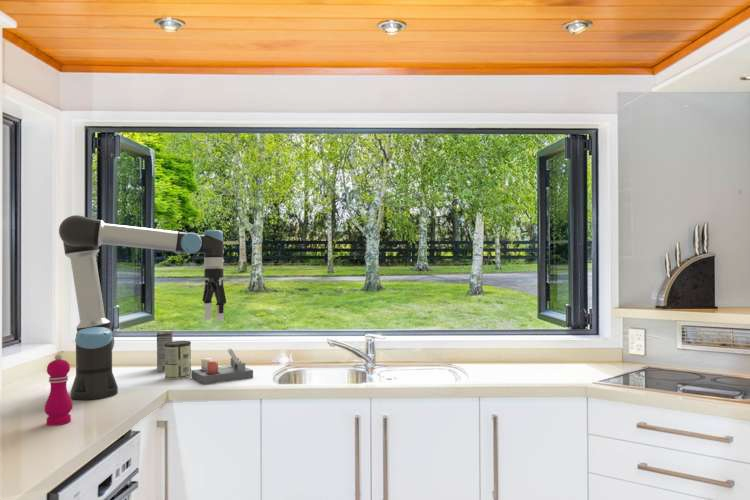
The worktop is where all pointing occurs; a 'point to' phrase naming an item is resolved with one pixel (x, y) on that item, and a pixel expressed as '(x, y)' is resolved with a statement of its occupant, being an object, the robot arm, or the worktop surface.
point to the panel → (223, 374)
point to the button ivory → (205, 364)
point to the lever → (233, 356)
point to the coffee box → (162, 348)
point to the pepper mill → (58, 393)
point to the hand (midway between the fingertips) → (214, 320)
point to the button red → (212, 367)
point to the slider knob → (233, 361)
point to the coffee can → (177, 360)
